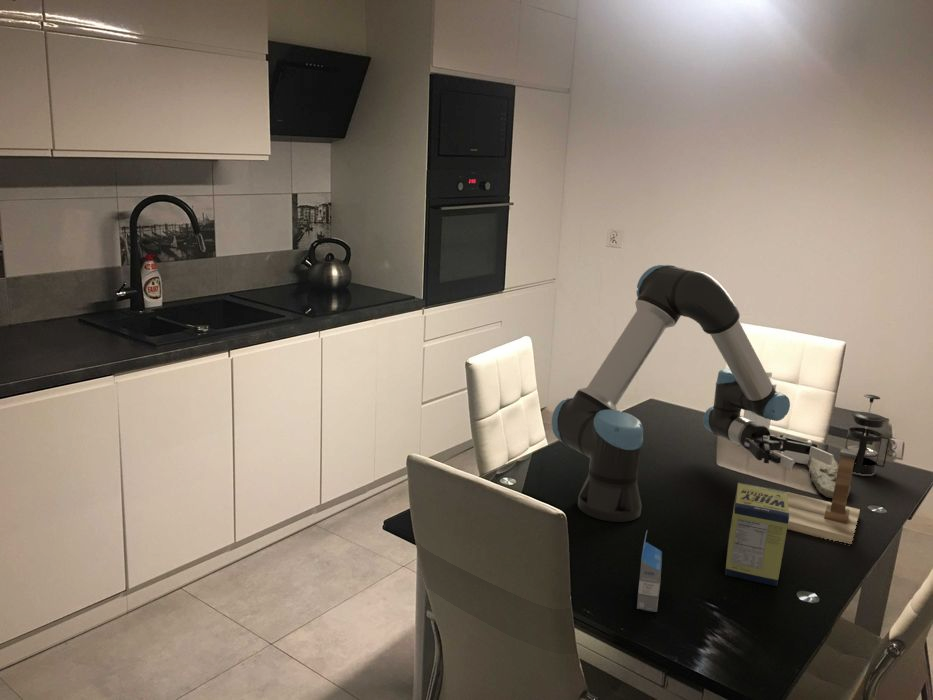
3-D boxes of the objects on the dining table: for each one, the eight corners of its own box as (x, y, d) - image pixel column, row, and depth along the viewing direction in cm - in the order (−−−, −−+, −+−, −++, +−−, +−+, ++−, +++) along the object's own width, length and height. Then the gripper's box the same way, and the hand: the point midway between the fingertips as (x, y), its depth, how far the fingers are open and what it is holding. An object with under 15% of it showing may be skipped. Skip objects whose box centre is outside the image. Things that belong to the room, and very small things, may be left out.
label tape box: (656, 613, 148) (665, 552, 146) (634, 608, 150) (642, 548, 147) (658, 590, 157) (666, 532, 154) (637, 586, 158) (645, 529, 155)
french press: (836, 471, 233) (850, 395, 228) (839, 462, 241) (853, 388, 236) (881, 481, 227) (896, 403, 222) (883, 471, 235) (897, 396, 230)
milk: (767, 441, 256) (778, 375, 251) (751, 441, 254) (762, 375, 249) (755, 435, 261) (766, 370, 256) (739, 435, 260) (750, 370, 255)
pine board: (851, 545, 183) (852, 537, 183) (756, 520, 193) (757, 513, 193) (858, 516, 200) (860, 509, 200) (771, 495, 210) (772, 488, 210)
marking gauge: (846, 524, 190) (859, 456, 186) (824, 518, 193) (836, 451, 189) (848, 517, 194) (861, 451, 191) (826, 511, 197) (838, 446, 193)
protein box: (776, 555, 176) (787, 489, 172) (777, 587, 161) (790, 516, 158) (727, 545, 179) (737, 480, 176) (724, 575, 165) (735, 505, 161)
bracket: (807, 467, 235) (811, 443, 233) (781, 463, 237) (785, 438, 235) (805, 454, 247) (809, 430, 245) (780, 449, 249) (784, 426, 247)
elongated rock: (836, 467, 241) (801, 463, 244) (838, 450, 240) (803, 446, 243) (856, 503, 208) (815, 498, 211) (858, 484, 207) (817, 479, 210)
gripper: (781, 444, 225) (844, 471, 206) (712, 452, 214) (772, 481, 195) (785, 418, 223) (849, 444, 204) (716, 425, 212) (777, 452, 194)
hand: (812, 462), depth 200 cm, fingers open, 13 cm apart
